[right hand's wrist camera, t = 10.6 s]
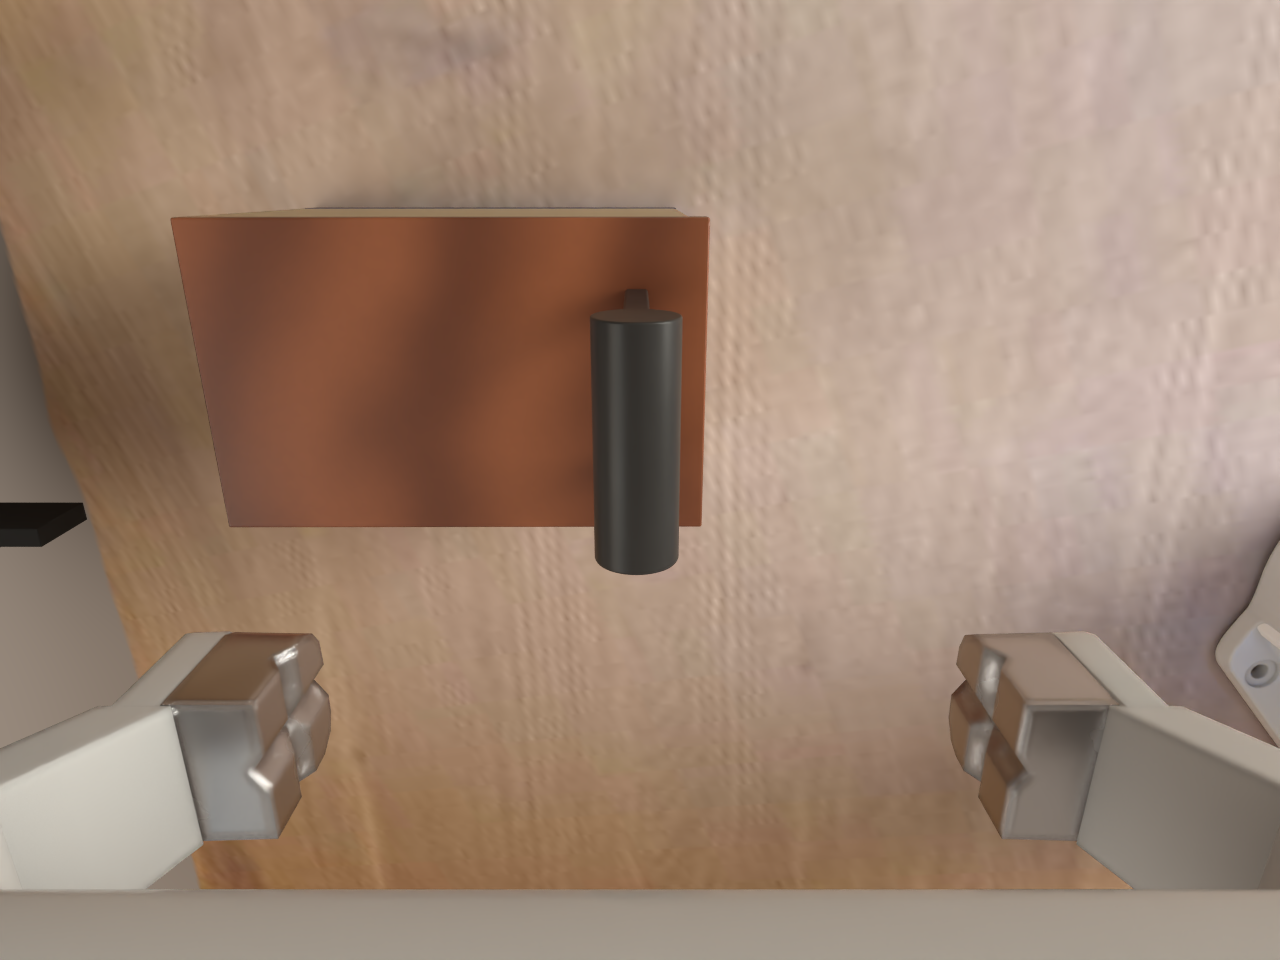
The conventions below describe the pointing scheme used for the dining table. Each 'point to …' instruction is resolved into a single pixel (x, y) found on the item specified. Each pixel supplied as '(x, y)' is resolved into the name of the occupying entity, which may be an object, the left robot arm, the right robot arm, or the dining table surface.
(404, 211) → the chest
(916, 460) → the dining table surface
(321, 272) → the lid
